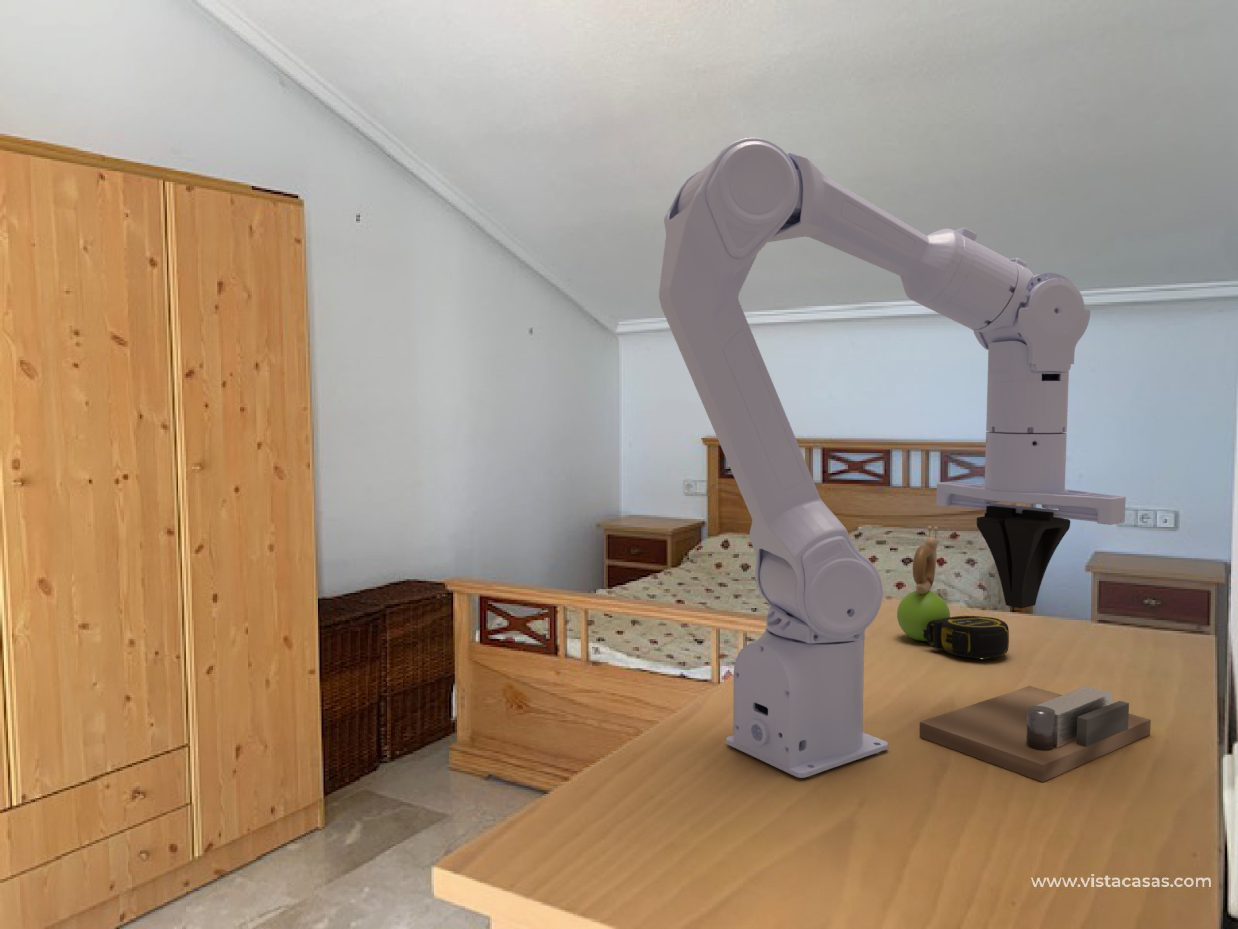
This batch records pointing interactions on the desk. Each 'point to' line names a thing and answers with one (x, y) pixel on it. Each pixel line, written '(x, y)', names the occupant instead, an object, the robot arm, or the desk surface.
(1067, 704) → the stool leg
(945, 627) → the tape measure
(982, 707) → the walnut board
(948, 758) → the desk surface
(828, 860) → the desk surface
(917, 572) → the snail figurine
